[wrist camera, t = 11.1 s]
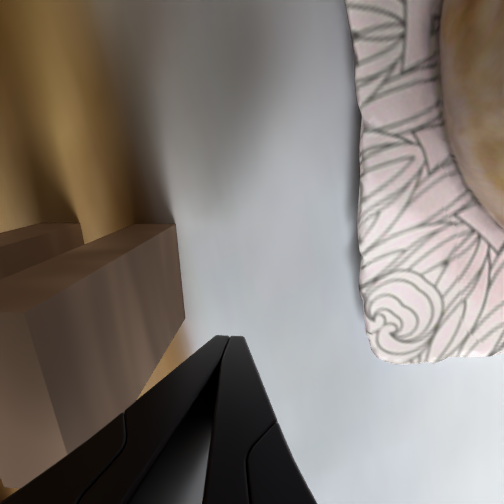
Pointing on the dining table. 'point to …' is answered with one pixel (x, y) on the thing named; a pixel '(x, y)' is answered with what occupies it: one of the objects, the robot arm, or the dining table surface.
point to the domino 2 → (82, 342)
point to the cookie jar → (431, 176)
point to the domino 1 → (36, 245)
